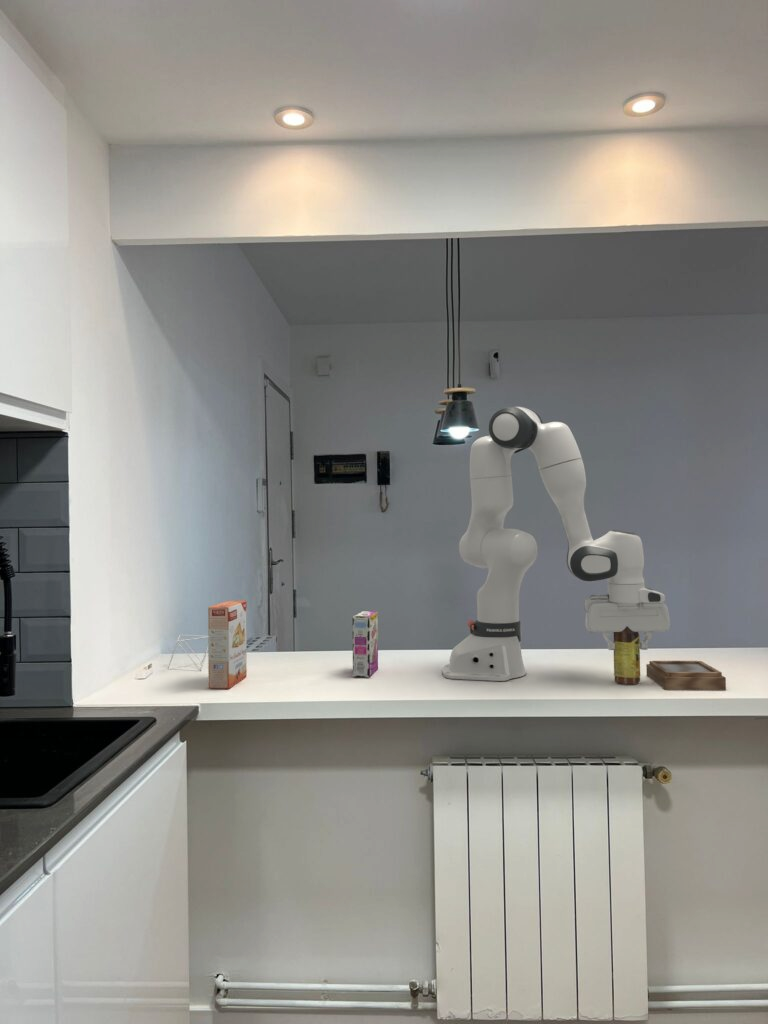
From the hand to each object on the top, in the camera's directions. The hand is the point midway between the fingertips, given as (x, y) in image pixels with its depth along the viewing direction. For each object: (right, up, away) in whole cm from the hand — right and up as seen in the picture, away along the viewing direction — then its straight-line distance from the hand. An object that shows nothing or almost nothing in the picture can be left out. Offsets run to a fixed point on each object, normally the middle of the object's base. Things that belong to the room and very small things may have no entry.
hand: (627, 649), depth 173 cm
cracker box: (-102, -10, +7) cm, 103 cm away
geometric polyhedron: (-117, -11, +26) cm, 121 cm away
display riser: (+14, -8, -1) cm, 16 cm away
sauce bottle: (0, -9, 0) cm, 9 cm away
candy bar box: (-66, -10, +15) cm, 69 cm away
